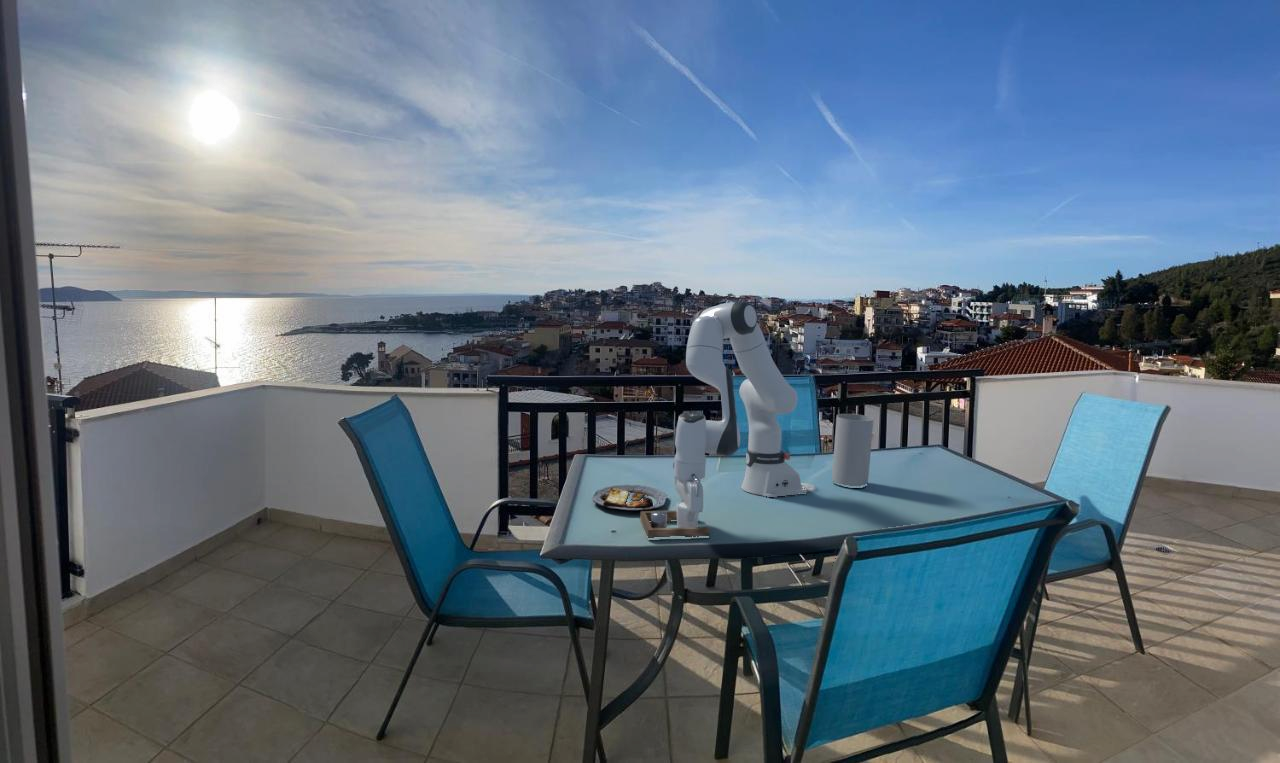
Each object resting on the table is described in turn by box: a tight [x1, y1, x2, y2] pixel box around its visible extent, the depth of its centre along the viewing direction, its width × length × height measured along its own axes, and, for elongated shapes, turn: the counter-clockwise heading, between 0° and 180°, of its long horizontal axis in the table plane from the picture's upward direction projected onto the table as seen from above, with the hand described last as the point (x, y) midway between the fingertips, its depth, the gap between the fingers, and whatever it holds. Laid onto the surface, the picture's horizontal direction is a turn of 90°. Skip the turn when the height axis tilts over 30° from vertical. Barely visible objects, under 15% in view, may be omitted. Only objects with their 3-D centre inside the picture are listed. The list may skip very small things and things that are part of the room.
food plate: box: [591, 484, 668, 512], centre depth 193 cm, size 25×23×4 cm
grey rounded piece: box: [650, 510, 668, 528], centre depth 170 cm, size 5×5×5 cm
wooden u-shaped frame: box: [639, 510, 711, 538], centre depth 170 cm, size 17×14×3 cm
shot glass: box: [675, 501, 700, 528], centre depth 171 cm, size 7×7×7 cm
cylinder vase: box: [831, 413, 874, 486], centre depth 217 cm, size 12×12×25 cm
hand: (687, 516), depth 171 cm, fingers closed on shot glass, 5 cm apart
